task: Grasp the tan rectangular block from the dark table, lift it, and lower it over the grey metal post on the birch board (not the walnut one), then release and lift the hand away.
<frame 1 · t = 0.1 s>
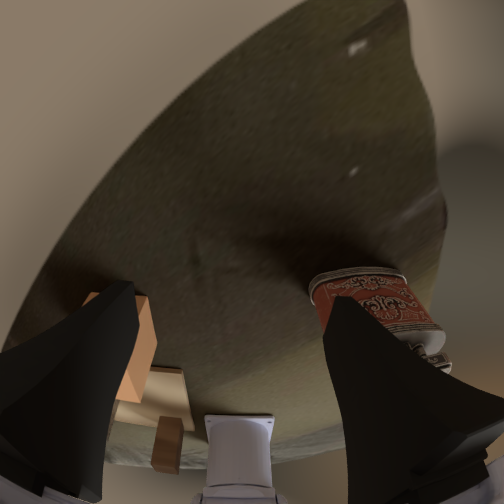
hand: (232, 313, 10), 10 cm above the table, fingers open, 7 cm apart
lighter: (357, 284, 22), on the table
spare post: (172, 418, 31), resting on board
board: (141, 397, 29), on the table
tan rectangular block: (124, 319, 23), on the table
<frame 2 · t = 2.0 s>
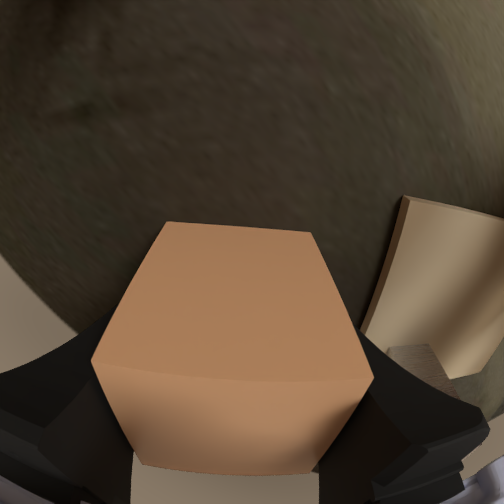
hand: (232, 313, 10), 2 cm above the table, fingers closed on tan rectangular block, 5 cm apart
board: (458, 310, 13), on the table
post: (396, 354, 14), resting on board
tan rectangular block: (233, 287, 12), on the table, touching gripper
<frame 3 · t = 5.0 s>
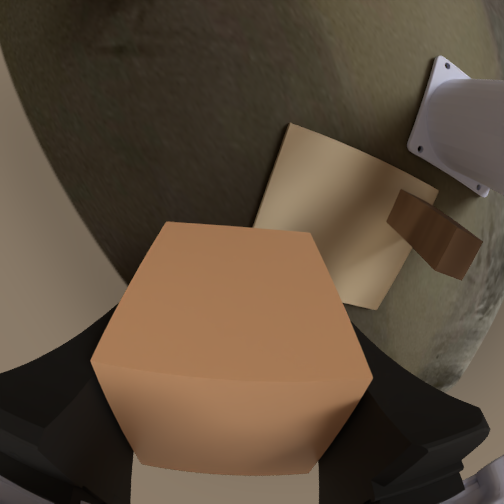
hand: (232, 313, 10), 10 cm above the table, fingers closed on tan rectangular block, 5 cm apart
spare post: (403, 208, 20), resting on board
board: (342, 228, 20), on the table
tan rectangular block: (233, 287, 12), point 9 cm above the table, touching gripper
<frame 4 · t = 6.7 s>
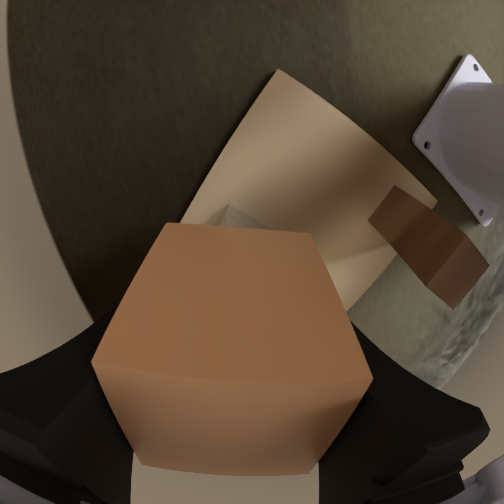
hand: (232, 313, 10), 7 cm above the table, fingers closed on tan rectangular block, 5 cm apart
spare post: (391, 211, 16), resting on board
board: (311, 215, 16), on the table
post: (237, 230, 17), resting on board
tan rectangular block: (233, 288, 12), point 6 cm above the table, touching gripper
when the fingers open (3 cm above the table, at t = 8.1 s): tan rectangular block stays where it is, resting on post.
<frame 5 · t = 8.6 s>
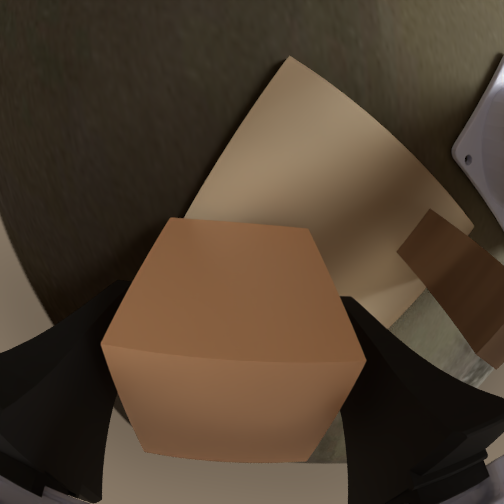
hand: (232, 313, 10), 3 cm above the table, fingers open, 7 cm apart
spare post: (422, 238, 13), resting on board
board: (328, 245, 13), on the table
tan rectangular block: (234, 281, 12), point 1 cm above the table, touching post
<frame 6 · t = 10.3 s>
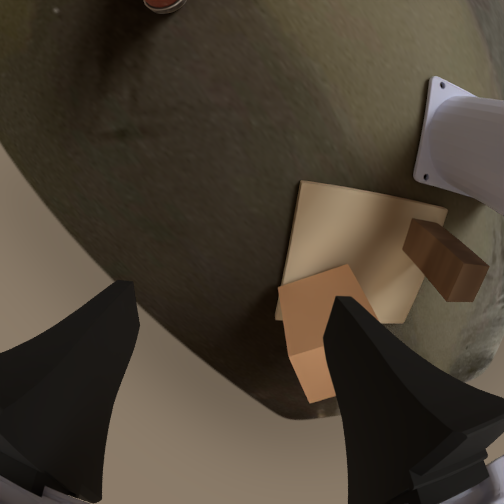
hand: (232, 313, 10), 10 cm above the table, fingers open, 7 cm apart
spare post: (416, 232, 20), resting on board
board: (363, 262, 22), on the table
tan rectangular block: (321, 303, 22), point 1 cm above the table, touching post
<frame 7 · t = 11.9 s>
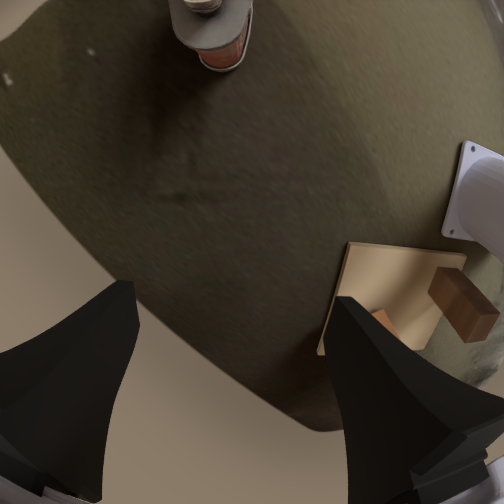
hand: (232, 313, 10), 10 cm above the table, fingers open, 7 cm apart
lighter: (224, 15, 14), on the table
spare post: (439, 276, 22), resting on board
board: (393, 304, 24), on the table
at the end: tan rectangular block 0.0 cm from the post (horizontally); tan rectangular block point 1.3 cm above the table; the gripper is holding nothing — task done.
